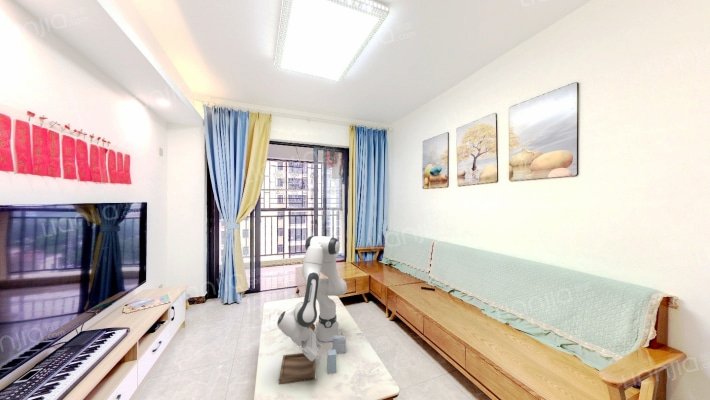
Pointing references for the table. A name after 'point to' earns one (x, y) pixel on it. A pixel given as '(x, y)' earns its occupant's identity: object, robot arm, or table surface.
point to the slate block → (331, 361)
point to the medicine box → (339, 343)
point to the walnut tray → (296, 369)
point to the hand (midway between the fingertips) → (320, 352)
